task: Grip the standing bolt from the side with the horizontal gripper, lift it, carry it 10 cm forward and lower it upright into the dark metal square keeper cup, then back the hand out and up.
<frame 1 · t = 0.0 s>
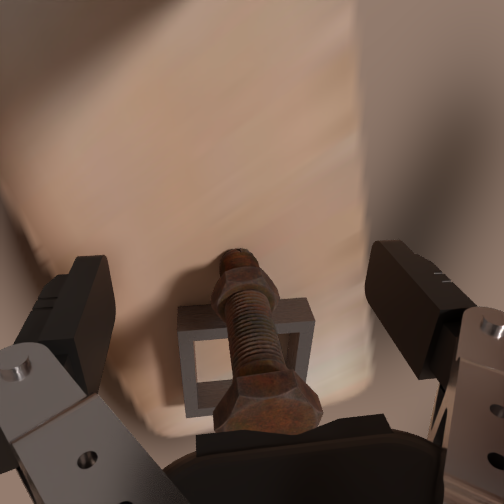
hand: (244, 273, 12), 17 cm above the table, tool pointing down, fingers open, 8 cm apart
bolt: (237, 261, 33), on the table
keeper: (242, 347, 39), on the table
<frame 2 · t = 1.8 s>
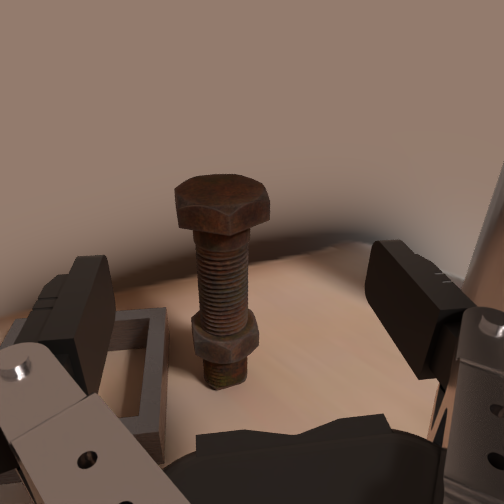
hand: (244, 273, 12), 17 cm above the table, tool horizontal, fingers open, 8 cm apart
bolt: (225, 379, 30), on the table
keeper: (84, 397, 28), on the table
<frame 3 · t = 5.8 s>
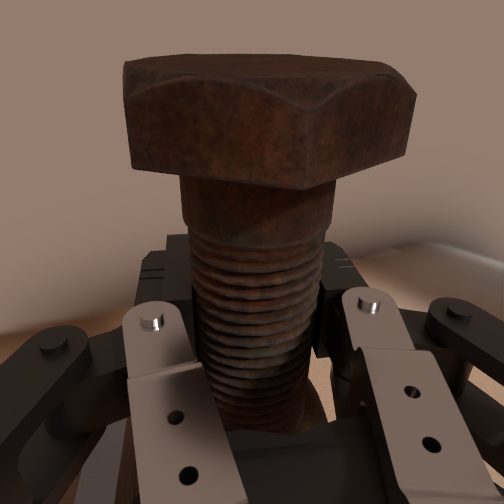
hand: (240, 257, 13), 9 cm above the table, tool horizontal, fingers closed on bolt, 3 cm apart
when the fingers open (10 cm above the table, at t = 10.5 s): bolt drops 1 cm, resting in keeper.
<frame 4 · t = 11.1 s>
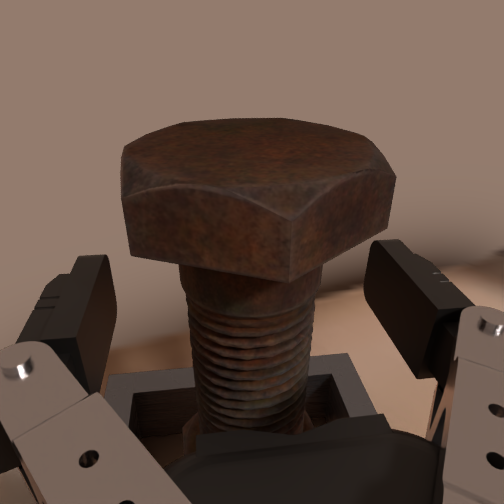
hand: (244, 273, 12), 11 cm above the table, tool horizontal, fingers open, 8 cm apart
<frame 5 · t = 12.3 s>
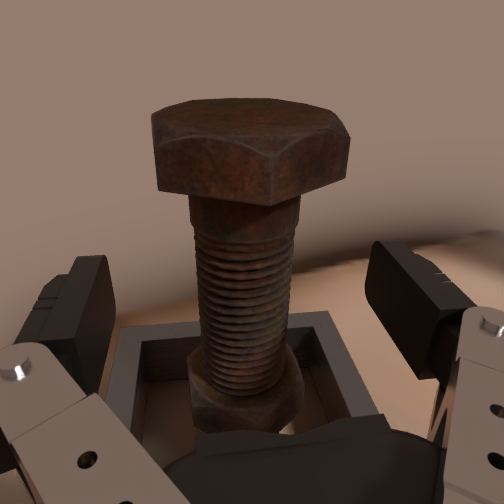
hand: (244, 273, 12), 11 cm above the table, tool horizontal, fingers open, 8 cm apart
bolt: (243, 452, 19), resting in keeper
keeper: (240, 447, 19), on the table
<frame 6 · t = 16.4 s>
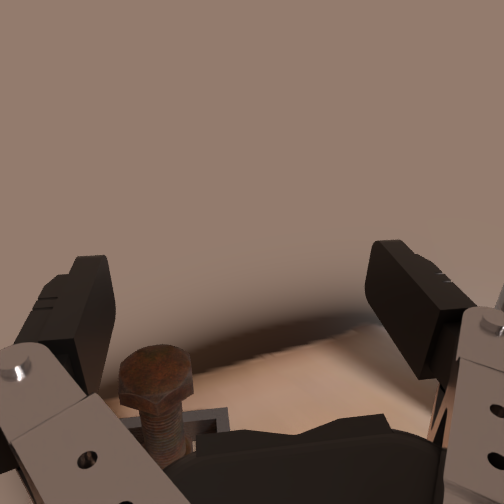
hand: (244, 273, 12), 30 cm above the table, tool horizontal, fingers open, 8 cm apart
bolt: (171, 491, 36), resting in keeper
keeper: (170, 488, 36), on the table
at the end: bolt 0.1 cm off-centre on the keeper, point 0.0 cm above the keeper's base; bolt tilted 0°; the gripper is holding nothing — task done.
